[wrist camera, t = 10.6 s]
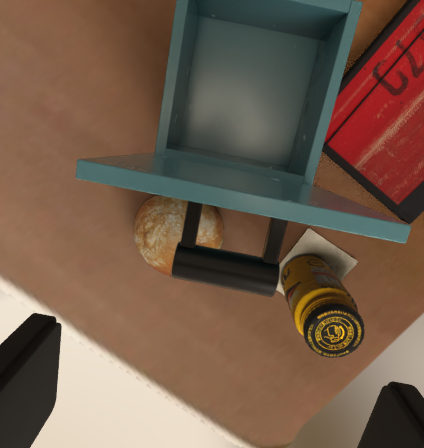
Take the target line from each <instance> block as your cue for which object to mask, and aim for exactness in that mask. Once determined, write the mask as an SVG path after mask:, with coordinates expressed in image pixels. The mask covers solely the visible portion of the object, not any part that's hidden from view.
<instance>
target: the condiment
mask: <svg viewBox="0 0 424 448" xmlns="http://www.w3.org/2000/svg"><path fill="white" fill-rule="evenodd" d="M357 263H358V261H356V260H355V259H353V258H352V257H351V256H349V255H348V254H346V253H345V252H343V251H342V250H341V249H339V248H337V247H336V246H335V245H333V244H332V243H330V242H329V241H327V240H326V239H324V238H323V237H321V236H320V235H318V234H317V233H315V232H314V231H312V230H311V229H309V228H308V229H307V231H306V232H305V233H304V235H303V236H302V237H301V238H300V240H299V241H298V242H297V243H296V245H295V246H294V247H293V249H292V250H291V251H290V252H289V253H288V255H287V256H286V257H285V258H284V259H283V261H282V262H281V263H280V275H279V282H278V286H277V289H276V290H277V291H279V292H281V293H282V294H284V295H285V297H286V299H287V302H288V305H289V308H290V310H291V313H292V316H293V320H294V322H295V325H296V327H297V329H298V330H299V332H300V333H301V334H302V335H303V336H304V338H305V341H306V343H307V344H308V346H309V347H310V348H311V349H312V350H313V351H315V352H316V353H317V354H319V355H321V356H325V357H330V358H333V357H342V356H345V355H347V354H349V353H351V352H353V351H354V350H356V349H357V347H358V346H359V345H360V344H361V342H362V340H363V338H364V324H363V320H362V318H361V316H360V315H359V314H358V311H357V306H356V303H355V301H354V300H353V298H352V297H351V295H350V294H349V293H348V291H347V290H346V289H345V287H344V286H343V285H342V283H341V281H342V280H343V278H344V277H345V276H346V275H347V274H348V273H349V272H350V271H351V270H352V269H353V267H354V266H355V265H356V264H357Z"/></svg>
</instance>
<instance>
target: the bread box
mask: <svg viewBox="0 0 424 448" xmlns="http://www.w3.org/2000/svg"><path fill="white" fill-rule="evenodd" d="M362 5H363V2H360V1H355V0H176V7H175V14H174V21H173V28H172V35H171V42H170V49H169V56H168V63H167V70H166V77H165V84H164V91H163V98H162V105H161V112H160V119H159V126H158V133H157V140H156V147H155V153H157V154H162V155H167V156H172V157H177V158H182V159H187V160H192V161H197V162H202V163H207V164H212V165H217V166H222V167H227V168H232V169H237V170H242V171H247V172H252V173H257V174H262V175H267V176H272V177H277V178H282V179H287V180H292V181H297V182H302V183H307V184H313V180H314V177H315V173H316V170H317V166H318V162H319V159H320V155H321V152H322V148H323V145H324V141H325V137H326V134H327V130H328V127H329V123H330V120H331V116H332V112H333V109H334V105H335V102H336V98H337V94H338V91H339V87H340V84H341V80H342V77H343V73H344V69H345V66H346V62H347V59H348V55H349V52H350V48H351V44H352V41H353V37H354V34H355V30H356V27H357V23H358V19H359V16H360V12H361V9H362Z"/></svg>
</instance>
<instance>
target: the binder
mask: <svg viewBox="0 0 424 448" xmlns="http://www.w3.org/2000/svg"><path fill="white" fill-rule="evenodd" d="M322 151H323V152H324V153H326V154H327V155H328V156H329V157H330V158H331V159H332V160H333V161H334V162H335V163H337V164H338V165H339V166H340V167H341V168H343V169H344V170H345V171H346V172H347V173H348V174H350V175H351V176H352V177H353V178H354V179H355V180H356V181H357V182H359V183H360V184H361V185H362V186H363V187H364V188H365V189H366V190H367V191H369V192H370V193H371V194H372V195H373V196H375V197H376V198H377V199H378V200H379V201H380V202H381V203H383V204H384V205H385V206H386V207H387V208H388V209H389V210H391V211H392V212H393V213H394V214H395V215H397V216H398V217H399V218H400V219H401V220H402V221H404V222H406V223H408V224H411V223H412V222H413V221H414V220H415V219H416V218H417V217H418V216H419V215H420V214H421V213H422V212H423V211H424V0H408V1H407V2H406V3H405V4H404V6H403V7H402V8H401V9H400V10H399V12H398V13H397V14H396V15H395V16H394V17H393V19H392V20H391V21H390V22H389V23H388V24H387V26H386V27H385V28H384V29H383V31H382V32H381V33H380V34H379V35H378V36H377V37H376V39H375V40H374V41H373V42H372V43H371V45H370V46H369V47H368V48H367V49H366V51H365V52H364V53H363V54H362V55H361V57H360V58H359V59H358V60H357V61H356V63H355V64H354V65H353V66H352V67H351V69H350V70H349V71H348V72H347V73H346V75H345V76H344V77H343V78H342V80H341V84H340V87H339V91H338V94H337V98H336V102H335V105H334V109H333V112H332V116H331V120H330V123H329V127H328V130H327V134H326V137H325V141H324V145H323V148H322Z"/></svg>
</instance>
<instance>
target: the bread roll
mask: <svg viewBox="0 0 424 448" xmlns="http://www.w3.org/2000/svg"><path fill="white" fill-rule="evenodd" d="M187 203H188V201H187V200H182V199H177V198H172V197H167V196H162V195H156V196H154V197H152V198H151V199H149V200H147V201H146V202H145V203H144V204H143V205H142V206H141V207H140V209H139V210H138V212H137V214H136V217H135V221H134V240H135V243H136V246H137V248H138V250H139V252H140V253H141V255H142V256H143V257H144V259H145V261H146V262H147V263H148V264H149V265H150V266H152V267H153V268H154V269H156V270H158V271H159V272H161V273H163V274H165V275H169V276H170V277H171V269H172V263H173V258H174V254H175V250H176V246H177V244H178V242H180V241H181V237H182V231H183V226H184V220H185V214H186V209H187ZM223 230H224V227H223V221H222V218H221V215H220V213H219V212H218V211H217V210H216V209H215V208H214V206H212V205H207V204H203V208H202V213H201V218H200V223H199V228H198V234H197V239H196V245H201V246H206V247H211V248H216V249H220V247H221V246H222V245H221V244H222V242H223V241H224V237H223Z"/></svg>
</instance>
